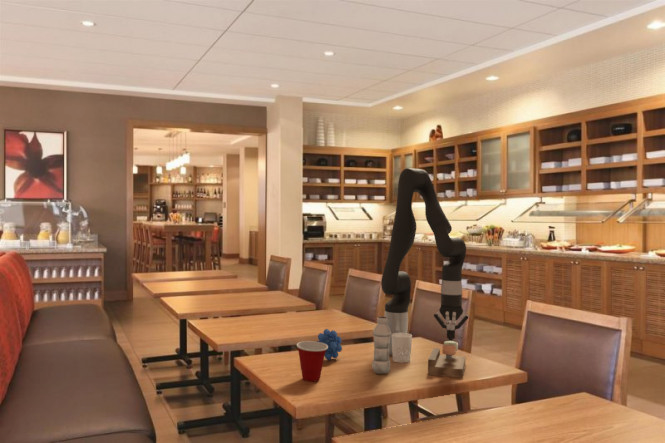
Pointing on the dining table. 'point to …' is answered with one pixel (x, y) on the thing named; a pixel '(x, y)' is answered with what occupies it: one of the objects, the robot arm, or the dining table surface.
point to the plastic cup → (311, 359)
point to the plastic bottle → (381, 346)
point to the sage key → (451, 343)
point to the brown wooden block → (445, 365)
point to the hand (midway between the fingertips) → (450, 339)
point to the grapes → (330, 343)
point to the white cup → (401, 347)
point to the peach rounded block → (449, 351)
